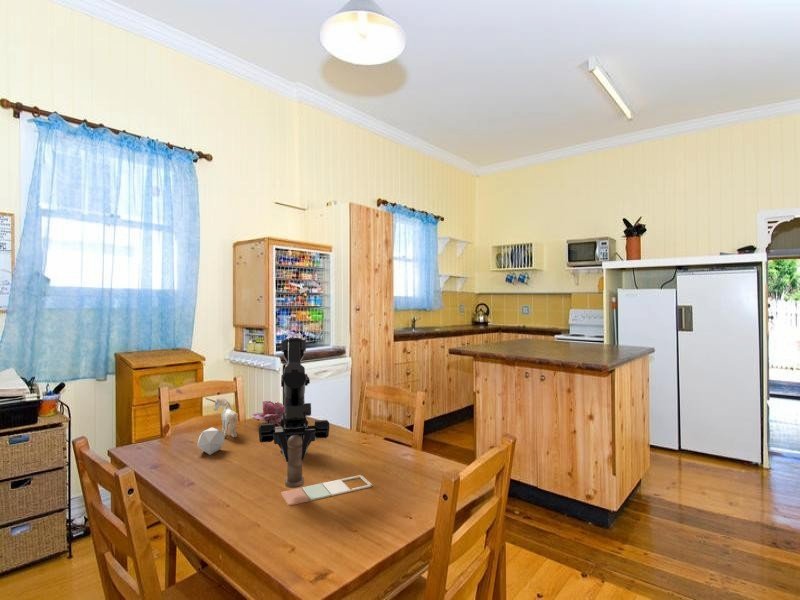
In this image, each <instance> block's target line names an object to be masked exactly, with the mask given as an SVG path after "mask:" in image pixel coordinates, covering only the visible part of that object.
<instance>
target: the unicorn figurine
mask: <svg viewBox="0 0 800 600" xmlns="http://www.w3.org/2000/svg"><path fill="white" fill-rule="evenodd" d="M204 399H205V400H208V401H210V402H212V403H214V407H213V410H214V411H218V410H219V409H220V407H222V411H221V415H220V417H221V418H220V419H221V422H222V429H221V432H222V433H223V434H224V435H225V436H224V439H226V438H227V437H228V436H229V437H230V436H231V437H232V438H237V435H238V434H237V421H238V413H237V412H235V411H234V410H232V406H231V404H230V401H228V400H226V398H225V397H217V398H215V399H211V398H208V397H204ZM227 432H228V436H227ZM225 437H226V438H225Z"/></svg>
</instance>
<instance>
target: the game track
mask: <svg viewBox="0 0 800 600" xmlns="http://www.w3.org/2000/svg"><path fill="white" fill-rule="evenodd" d="M354 479H361V480H362V481H363V483H366V484H365V485H362V486H357V487H352V488H351V489H350V487H348V485H347V484H346V483H345V481H349V480H354ZM373 486H374V485H373V484H372V483H371V482H370V481H369V480H368V479H366V477H364V476H363V475H361V474H358V475H354V476H350V477H349V476H348V477H345V478H340V479H335V480H331V481H327V482H326V481H324V482H320V483H315V484H310V485H307V486H303V487H302V486H301V487H297V488H291V489H287V490H285V491H284V490H283V491H280V495H281V497H282V498H283V500H284V501H285V503H286V505H287V506H288V507H290V506H294V505H298V504H302V503H307V502H312V501H316V500H319V499H324V498H328V497H331V496H332V497H333V496H338V495H341V494H346V493H350V492H354V491H359V490H364V489H367V488H372V487H373Z"/></svg>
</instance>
